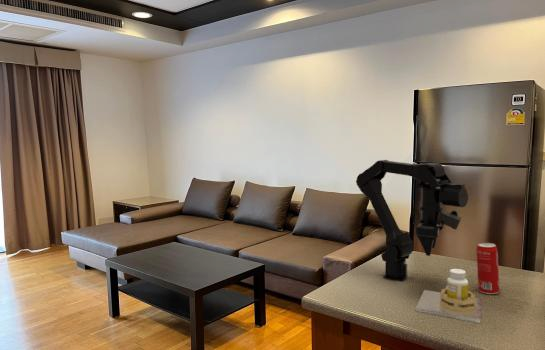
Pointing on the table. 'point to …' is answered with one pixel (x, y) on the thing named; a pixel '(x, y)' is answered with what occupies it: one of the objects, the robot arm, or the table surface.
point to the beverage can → (488, 268)
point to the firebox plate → (450, 305)
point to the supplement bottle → (457, 285)
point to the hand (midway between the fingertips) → (430, 251)
